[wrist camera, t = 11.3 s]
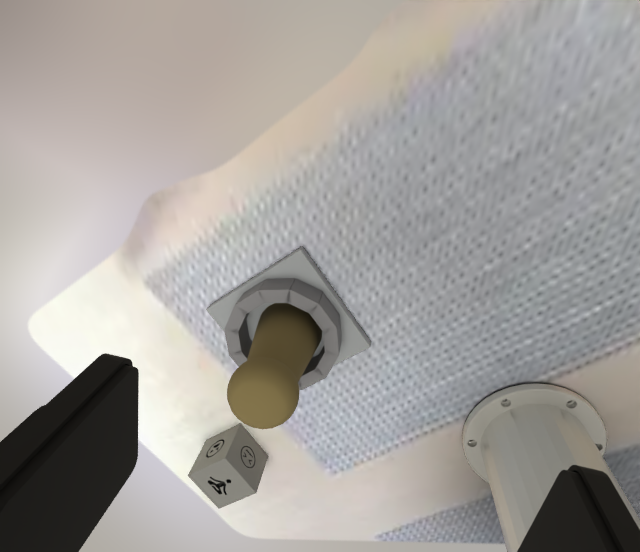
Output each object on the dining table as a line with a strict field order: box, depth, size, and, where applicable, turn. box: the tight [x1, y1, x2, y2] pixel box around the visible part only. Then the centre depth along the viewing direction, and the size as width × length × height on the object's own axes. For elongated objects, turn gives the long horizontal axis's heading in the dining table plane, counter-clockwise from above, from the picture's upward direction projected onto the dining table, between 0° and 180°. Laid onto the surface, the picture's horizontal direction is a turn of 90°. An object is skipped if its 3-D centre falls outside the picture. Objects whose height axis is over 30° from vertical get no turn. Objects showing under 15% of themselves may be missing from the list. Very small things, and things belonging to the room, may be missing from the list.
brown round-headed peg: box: [227, 303, 322, 429], centre depth 35 cm, size 6×6×11 cm
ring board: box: [206, 246, 371, 390], centre depth 40 cm, size 11×11×4 cm
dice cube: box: [188, 423, 268, 508], centre depth 46 cm, size 5×5×5 cm
